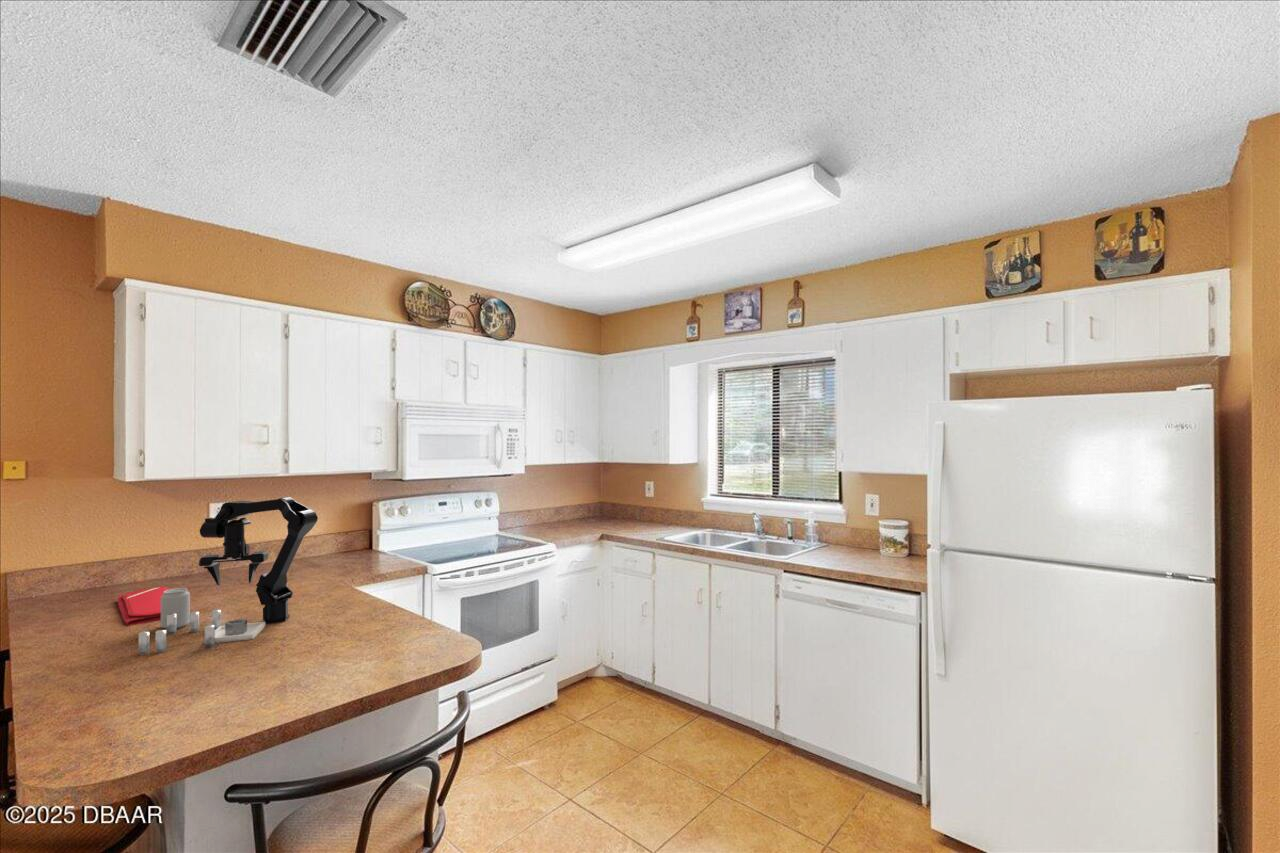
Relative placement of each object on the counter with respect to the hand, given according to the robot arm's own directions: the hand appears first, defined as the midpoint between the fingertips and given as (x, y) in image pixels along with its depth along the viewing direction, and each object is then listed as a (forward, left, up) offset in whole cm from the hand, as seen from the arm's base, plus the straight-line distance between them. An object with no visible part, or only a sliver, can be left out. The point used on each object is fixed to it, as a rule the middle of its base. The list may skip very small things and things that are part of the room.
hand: (234, 583), depth 197 cm
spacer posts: (+6, +19, -12) cm, 23 cm away
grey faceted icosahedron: (-6, +18, -11) cm, 23 cm away
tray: (-6, +18, -12) cm, 23 cm away
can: (+16, +2, -12) cm, 20 cm away
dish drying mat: (+35, -26, -13) cm, 45 cm away
